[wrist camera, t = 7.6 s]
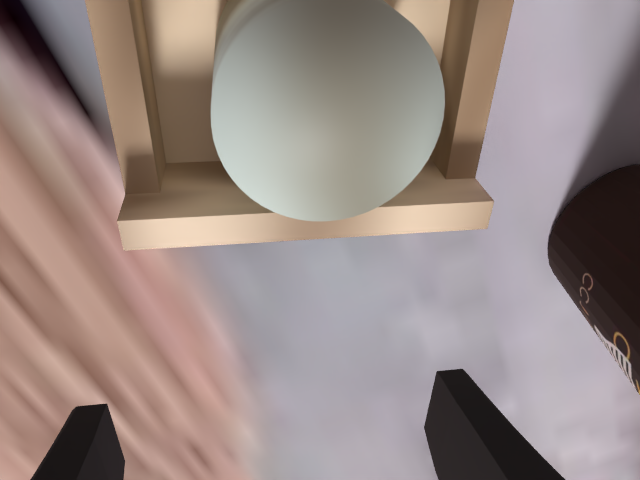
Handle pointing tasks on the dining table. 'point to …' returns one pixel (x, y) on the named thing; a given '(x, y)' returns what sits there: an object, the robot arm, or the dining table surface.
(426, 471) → the dining table surface
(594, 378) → the dining table surface
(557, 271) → the coffee mug
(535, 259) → the dining table surface
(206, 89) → the rack
